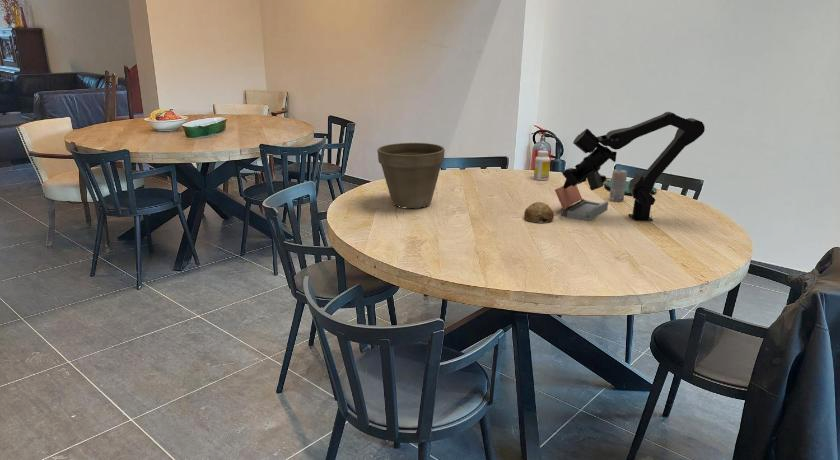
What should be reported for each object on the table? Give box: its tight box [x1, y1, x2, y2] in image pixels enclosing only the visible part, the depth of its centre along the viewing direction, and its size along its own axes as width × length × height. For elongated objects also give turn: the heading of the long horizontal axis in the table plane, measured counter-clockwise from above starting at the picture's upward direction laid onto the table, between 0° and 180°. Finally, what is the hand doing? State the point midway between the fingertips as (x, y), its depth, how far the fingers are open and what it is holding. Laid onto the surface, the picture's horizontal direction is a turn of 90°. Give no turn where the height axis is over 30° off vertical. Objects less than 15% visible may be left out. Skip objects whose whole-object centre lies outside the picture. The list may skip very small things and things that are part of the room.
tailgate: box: [554, 184, 583, 209], centre depth 207 cm, size 2×15×8 cm
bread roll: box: [523, 201, 555, 224], centre depth 196 cm, size 10×10×8 cm
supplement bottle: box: [533, 150, 551, 182], centre depth 252 cm, size 7×7×13 cm
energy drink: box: [608, 168, 628, 203], centre depth 219 cm, size 5×5×12 cm
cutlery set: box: [603, 177, 658, 195], centre depth 241 cm, size 20×30×2 cm, turn 13°
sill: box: [561, 198, 587, 218], centre depth 207 cm, size 2×18×2 cm, turn 141°
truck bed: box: [567, 200, 609, 222], centre depth 203 cm, size 8×18×3 cm, turn 142°
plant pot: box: [376, 142, 446, 209], centre depth 210 cm, size 25×25×22 cm
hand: (564, 187), depth 205 cm, fingers closed, pressing on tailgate
